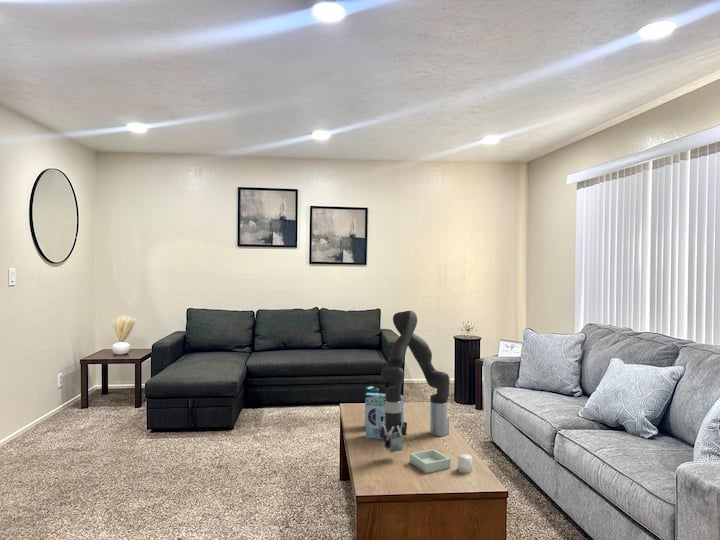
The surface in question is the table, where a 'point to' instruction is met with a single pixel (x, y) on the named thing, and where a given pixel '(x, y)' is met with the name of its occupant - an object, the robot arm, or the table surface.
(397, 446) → the iron cube
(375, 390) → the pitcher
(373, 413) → the gum box
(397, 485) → the table surface
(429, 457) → the tote
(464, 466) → the cream tapered egg shape
